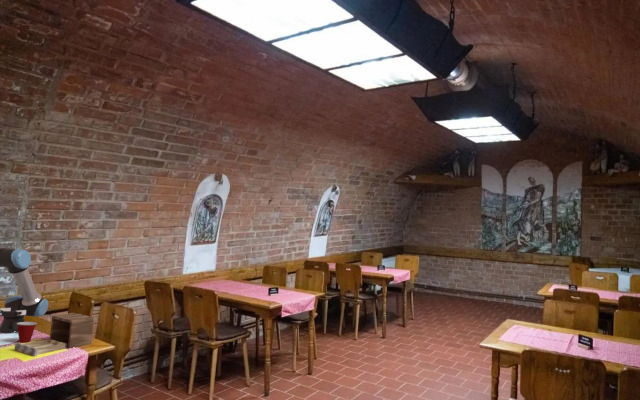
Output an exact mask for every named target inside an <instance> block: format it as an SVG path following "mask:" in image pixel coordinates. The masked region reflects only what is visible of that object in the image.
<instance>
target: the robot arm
mask: <svg viewBox="0 0 640 400" xmlns="http://www.w3.org/2000/svg"><path fill="white" fill-rule="evenodd" d="M29 252H30V251H27V249H22V248H5V247H0V268H6V270H7V271H8V273H9V274H10V275H11V274H12V276H13V278H14V281H15V283H16V286H17V288H18V290H19V293H20V294H18V295H13V296H8V297H6V298H5V302H4V307H1V308H0V317H3V319H2V322H1V323H0V333H5V334H7V333H8V334H9V333H10V332H14V331H18V326H17V323H19V322H26V321H25V317H35V318H36V317H38V318H39V317H42V316H44V315H45V314H46V312H47V311H48V308H49V301H48V299H46V298H43V296H42V294H41V293H39V292H38V291H37V289H36V286H35V284H34V281H33V279H32V276H31V274H30V271H29V267H30V265H31V262H32V256H31V254H30V253H29ZM10 334H11V333H10Z"/></svg>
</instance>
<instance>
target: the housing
mask: <svg viewBox="0 0 640 400" xmlns="http://www.w3.org/2000/svg"><path fill="white" fill-rule="evenodd" d="M93 326H94V316H91V315H85V314H81V313H76V312H70V313H63V314H56V315H52V316H51V324H50V332H49V339H51V340H55V341H59V342H60V341H61V342H64V341H68V345H67V349H69V348H71V349H74V348H73V347H75V348H79V347H84V346H89V345H92V341H93V339H92V338H93V329H94V327H93Z"/></svg>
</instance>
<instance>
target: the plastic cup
mask: <svg viewBox="0 0 640 400" xmlns="http://www.w3.org/2000/svg"><path fill="white" fill-rule="evenodd" d="M37 324H38V323H37V322H35V321H25V322H19V323H17V326H18V332H17V333H18V343H20V344H26V343H31V340H32V337H33V334H34V330H35V327H36V325H37Z"/></svg>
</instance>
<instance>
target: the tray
mask: <svg viewBox="0 0 640 400" xmlns="http://www.w3.org/2000/svg"><path fill="white" fill-rule="evenodd" d="M66 348H67V343H65V342H63V341H61V342H59V341H55V340H51V339H50V338H48V339H43V340H37V341H33V342H28V343H20V342H15V343H14V351H16V352H20V353H23V354H26V355H29V356H32V357H37V356H38V355H42V354H47V353H52V352H56V351H62V350H66Z"/></svg>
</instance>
